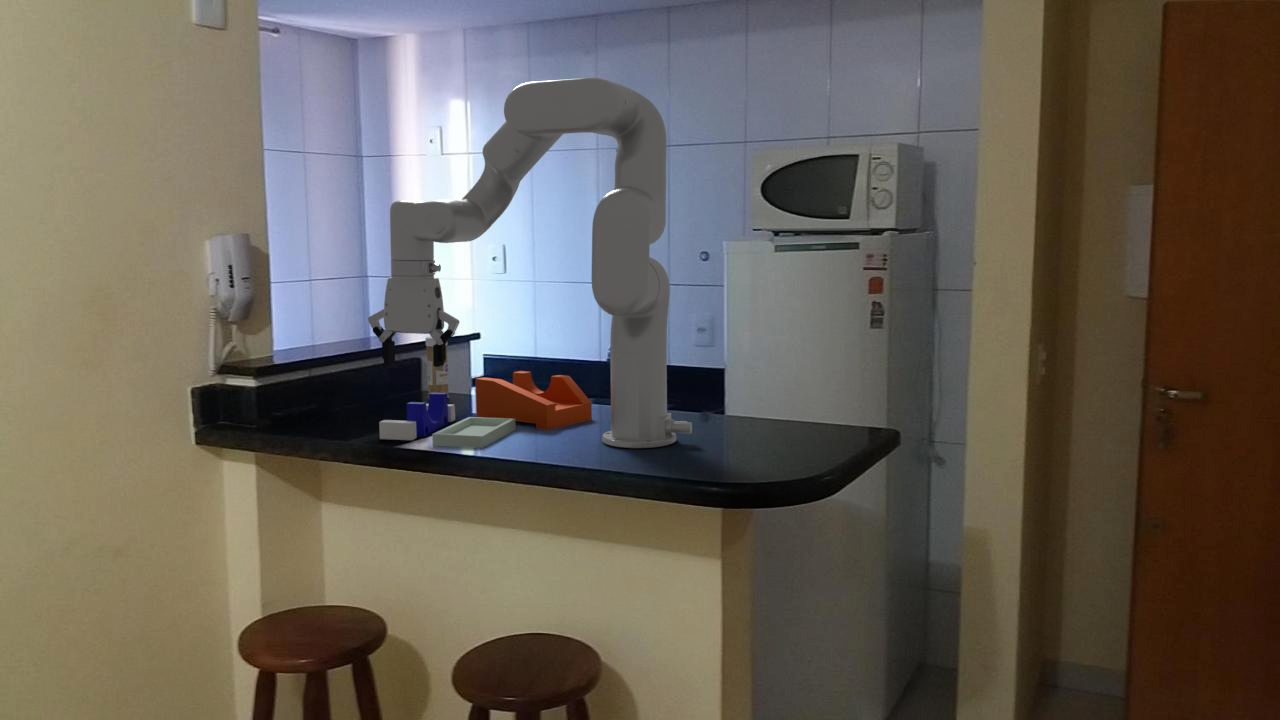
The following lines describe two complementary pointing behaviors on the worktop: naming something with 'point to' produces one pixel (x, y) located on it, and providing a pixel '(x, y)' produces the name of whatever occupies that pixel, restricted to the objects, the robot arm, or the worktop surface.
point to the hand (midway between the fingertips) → (414, 364)
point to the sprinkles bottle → (436, 371)
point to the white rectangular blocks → (406, 427)
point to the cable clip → (429, 413)
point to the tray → (474, 432)
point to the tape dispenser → (533, 401)
